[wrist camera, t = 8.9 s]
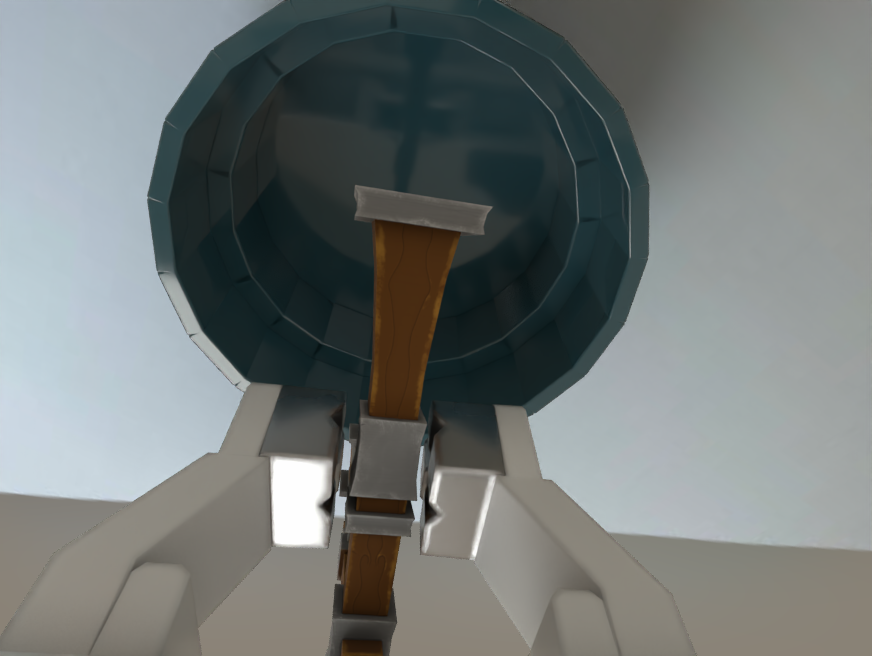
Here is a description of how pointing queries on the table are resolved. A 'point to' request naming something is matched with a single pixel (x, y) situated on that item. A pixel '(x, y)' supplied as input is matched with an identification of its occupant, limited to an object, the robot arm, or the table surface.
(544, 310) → the teal round bowl
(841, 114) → the table surface
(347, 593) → the wooden post with brackets
